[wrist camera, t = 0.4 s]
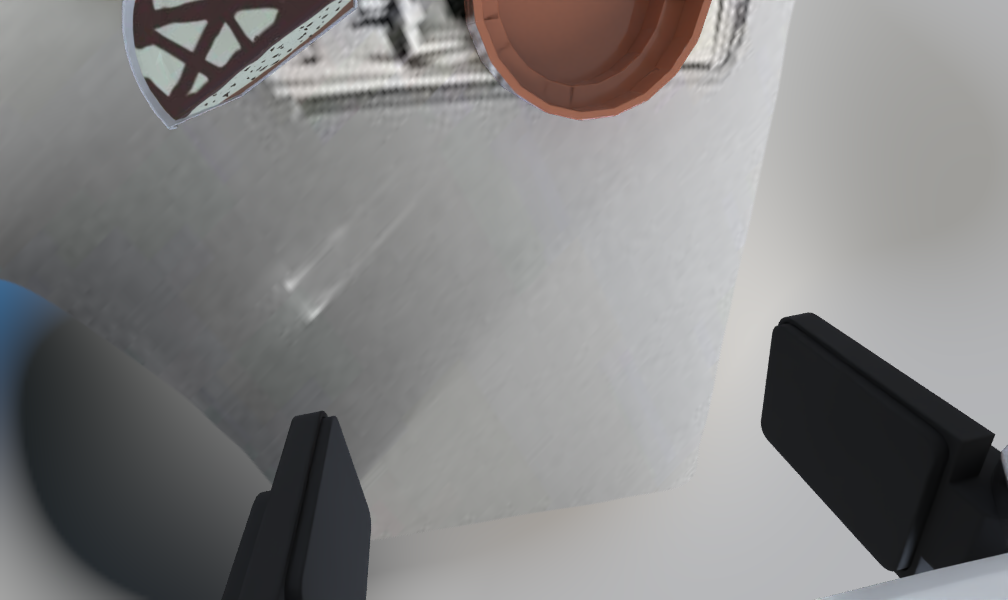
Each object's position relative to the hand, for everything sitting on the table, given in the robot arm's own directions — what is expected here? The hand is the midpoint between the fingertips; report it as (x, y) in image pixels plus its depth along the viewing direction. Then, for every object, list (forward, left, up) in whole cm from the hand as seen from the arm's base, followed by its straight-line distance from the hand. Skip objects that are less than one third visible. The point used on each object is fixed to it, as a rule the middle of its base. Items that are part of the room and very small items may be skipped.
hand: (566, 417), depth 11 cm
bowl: (-9, +9, -30) cm, 32 cm away
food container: (-11, -10, -30) cm, 33 cm away
